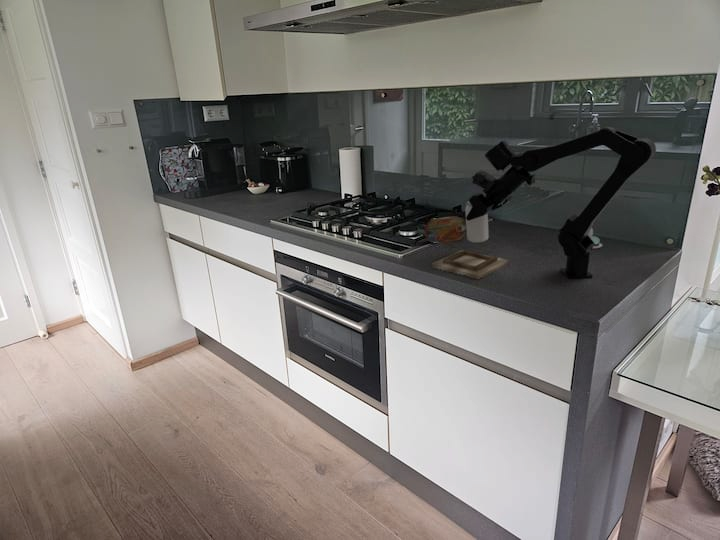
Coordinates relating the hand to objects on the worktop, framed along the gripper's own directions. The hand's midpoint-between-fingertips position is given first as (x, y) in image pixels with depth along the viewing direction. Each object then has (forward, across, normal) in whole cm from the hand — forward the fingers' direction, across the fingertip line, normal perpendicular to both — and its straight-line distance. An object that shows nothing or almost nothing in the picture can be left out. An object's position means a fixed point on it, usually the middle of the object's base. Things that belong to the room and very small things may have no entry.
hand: (471, 217), depth 149 cm
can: (+4, -1, +6) cm, 8 cm away
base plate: (+6, +9, +12) cm, 16 cm away
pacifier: (-11, -27, +29) cm, 41 cm away
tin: (+18, -9, -1) cm, 20 cm away
